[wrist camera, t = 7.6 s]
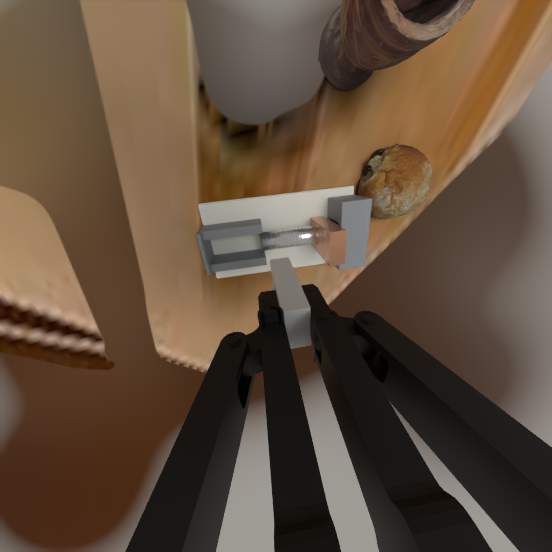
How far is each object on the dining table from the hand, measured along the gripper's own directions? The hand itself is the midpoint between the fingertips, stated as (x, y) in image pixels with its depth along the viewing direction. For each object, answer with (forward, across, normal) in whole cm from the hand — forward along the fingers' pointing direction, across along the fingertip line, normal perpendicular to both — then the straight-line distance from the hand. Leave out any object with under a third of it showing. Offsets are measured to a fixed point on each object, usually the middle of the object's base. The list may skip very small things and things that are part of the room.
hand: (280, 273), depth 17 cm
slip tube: (+17, +6, -2) cm, 18 cm away
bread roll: (+19, +19, +3) cm, 27 cm away
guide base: (+18, +2, -2) cm, 18 cm away
